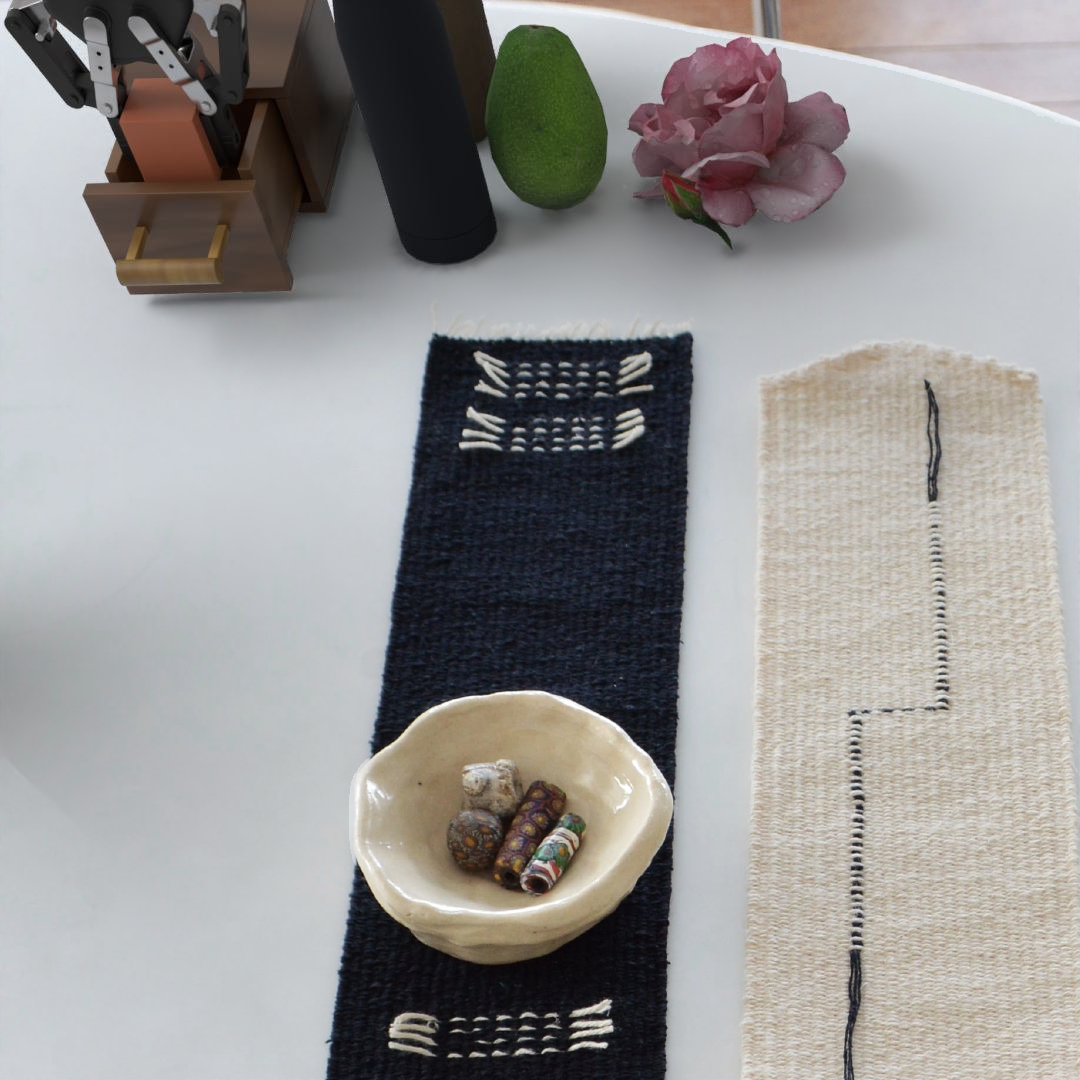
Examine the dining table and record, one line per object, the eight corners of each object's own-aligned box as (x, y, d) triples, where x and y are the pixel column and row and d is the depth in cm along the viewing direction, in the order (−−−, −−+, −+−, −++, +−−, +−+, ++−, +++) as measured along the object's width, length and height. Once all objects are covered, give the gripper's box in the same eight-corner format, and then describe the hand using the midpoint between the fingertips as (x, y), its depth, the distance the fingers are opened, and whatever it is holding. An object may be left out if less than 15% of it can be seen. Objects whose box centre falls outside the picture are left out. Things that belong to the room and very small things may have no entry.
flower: (860, 92, 120) (809, -34, 111) (863, 254, 114) (808, 136, 106) (661, 147, 124) (597, 31, 115) (654, 308, 118) (585, 197, 109)
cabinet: (327, 212, 118) (283, 86, 111) (155, 216, 118) (98, 90, 111) (356, 91, 126) (317, -35, 118) (193, 95, 125) (143, -31, 118)
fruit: (636, 214, 118) (605, 44, 108) (524, 247, 116) (482, 77, 106) (597, 149, 122) (564, -22, 112) (488, 180, 120) (444, 9, 110)
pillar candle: (536, 109, 124) (488, -110, 112) (429, 174, 121) (367, -45, 108) (446, 56, 128) (390, -162, 115) (340, 118, 124) (269, -101, 111)
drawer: (279, 341, 110) (238, 241, 104) (113, 345, 110) (63, 245, 104) (321, 170, 119) (287, 68, 113) (168, 173, 119) (125, 72, 113)
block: (147, 187, 109) (118, 121, 105) (162, 143, 111) (134, 77, 107) (218, 185, 109) (192, 120, 105) (231, 141, 111) (206, 76, 107)
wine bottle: (493, 263, 116) (360, -235, 90) (395, 266, 115) (235, -231, 90) (502, 202, 119) (377, -295, 93) (407, 204, 119) (256, -292, 93)
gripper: (215, -163, 97) (312, 121, 112) (-44, -157, 97) (87, 126, 112) (188, -89, 93) (292, 196, 108) (-82, -83, 93) (59, 201, 108)
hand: (187, 159), depth 110 cm, fingers closed on block, 4 cm apart
